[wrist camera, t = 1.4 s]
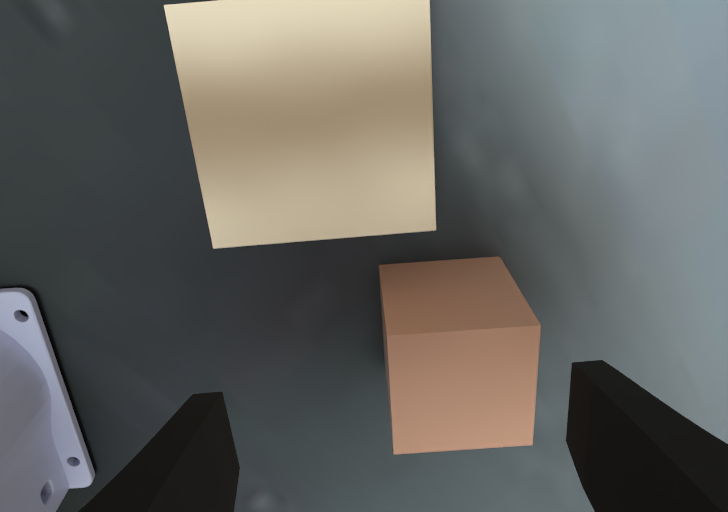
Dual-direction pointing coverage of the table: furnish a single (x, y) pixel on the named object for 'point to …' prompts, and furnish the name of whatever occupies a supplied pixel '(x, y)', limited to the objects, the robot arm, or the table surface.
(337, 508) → the table surface
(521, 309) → the terracotta block
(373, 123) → the maple slab
